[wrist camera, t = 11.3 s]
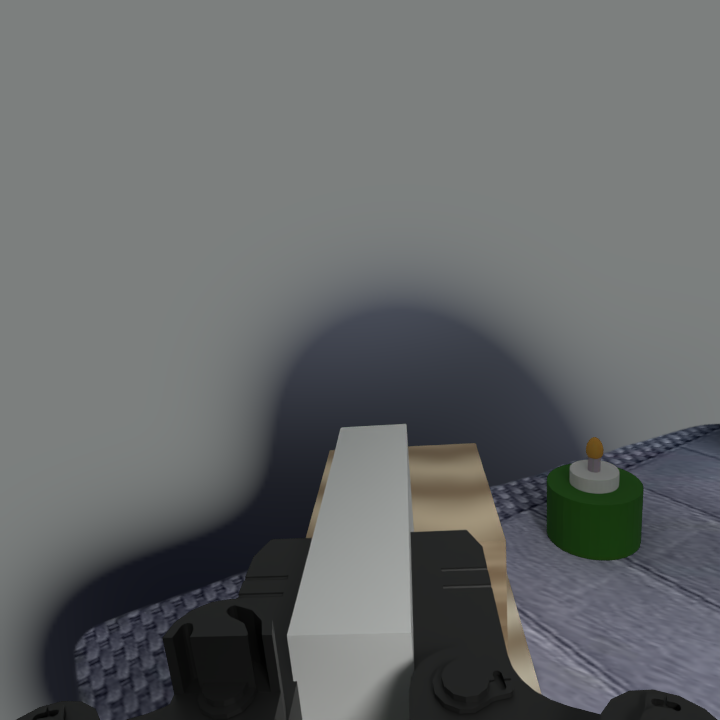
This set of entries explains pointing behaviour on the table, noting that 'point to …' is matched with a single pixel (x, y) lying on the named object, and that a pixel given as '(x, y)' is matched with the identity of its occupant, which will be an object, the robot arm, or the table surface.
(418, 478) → the press block
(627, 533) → the candle
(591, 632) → the table surface
